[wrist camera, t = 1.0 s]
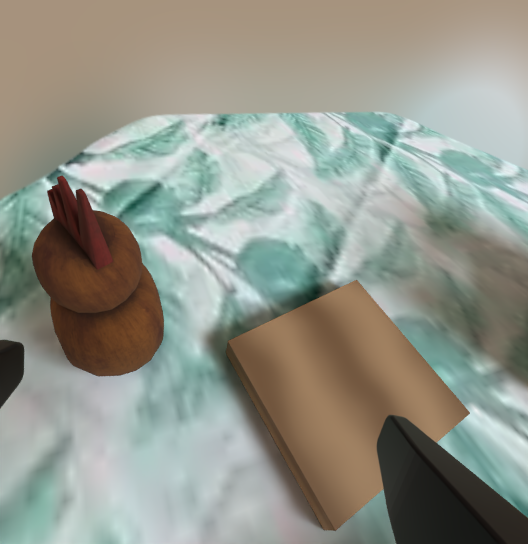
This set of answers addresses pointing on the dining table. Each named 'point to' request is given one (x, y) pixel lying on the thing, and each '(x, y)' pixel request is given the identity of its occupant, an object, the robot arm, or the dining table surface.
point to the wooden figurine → (97, 287)
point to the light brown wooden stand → (339, 394)
